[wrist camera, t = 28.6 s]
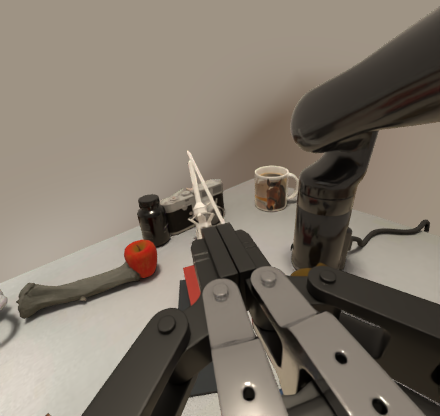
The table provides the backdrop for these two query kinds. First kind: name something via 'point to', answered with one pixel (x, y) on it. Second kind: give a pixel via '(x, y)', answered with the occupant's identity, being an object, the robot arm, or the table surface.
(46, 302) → the bone
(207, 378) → the mat
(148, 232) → the supplement bottle
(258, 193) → the mug
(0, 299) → the mug
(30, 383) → the table surface
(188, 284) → the red block
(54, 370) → the table surface
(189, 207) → the camera
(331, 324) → the robot arm
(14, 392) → the table surface
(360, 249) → the table surface
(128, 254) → the apple
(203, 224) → the miniature sculpture
